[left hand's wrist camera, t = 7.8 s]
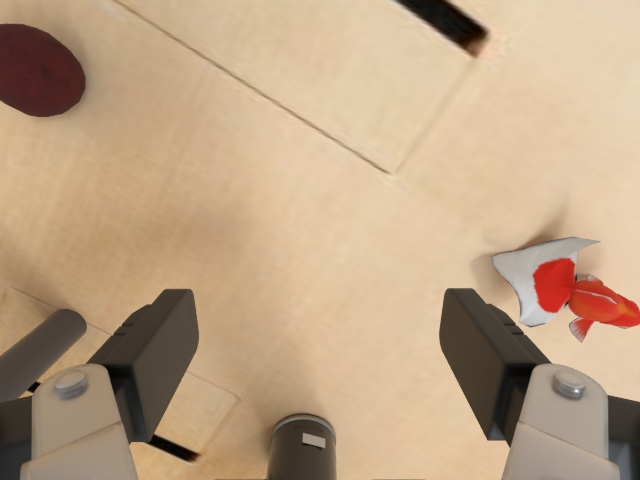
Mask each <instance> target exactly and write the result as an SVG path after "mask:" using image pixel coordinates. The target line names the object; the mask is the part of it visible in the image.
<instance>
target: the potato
mask: <svg viewBox="0 0 640 480" xmlns="http://www.w3.org/2000/svg"><path fill="white" fill-rule="evenodd" d="M84 90H85V75H84V73H83V70H82V67H81V65H80V63H79V62H78V60H77V59H76V58H75V56H74V55H73V54H72V53H71V51H70V50H69V49H68V48H66V47H65V46H64V45H63V44H61V43H60V42H59V41H58V40H56V39H55V38H54V37H53V36H51V35H50V34H49V33H46V32H44V31H42V30H39V29H37V28H34V27H30V26H27V25H23V24H0V100H1V101H2V102H4V103H5V104H7V105H9V106H11V107H13V108H15V109H17V110H19V111H21V112H23V113H25V114H27V115H31V116H37V117H50V116H54V115H59V114H63V113H64V112H66V111H68V110H69V109H70V108H72V107H73V106H74V105H75V104H77V103H78V102H79V100H80V98H81V96H82V94H83V92H84Z"/></svg>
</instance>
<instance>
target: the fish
mask: <svg viewBox="0 0 640 480" xmlns="http://www.w3.org/2000/svg"><path fill="white" fill-rule="evenodd" d="M598 242H600V241H595V240H589V239H583V238H577V237H569V238H564V239H558V240H552V241H546V242H543V243H540V244H536V245H533V246H530V247H527V248H524V249H520V250H517V251H512V252H505V253H500V254H497V255H494V256H493V257H492V265H493V266H494V267H495V269H496V270H497V271H498V272H499V273H500V274H501V275H502V276H503V277H504V279H505V280H506V281H507V282H508V283H509V284H510V285H511V286H512V287H513V288H514V290H515V292H516V294H517V296H518V299H519V304H520V320H519V323H522V324H524V325H526V326H529V327H534V326H538V325H542V324H545V323H547V322H548V321H550V320H551V319H553V318H554V317H555V316H556V315H557V314H558V313H559V312H560V311H561V310H562V309H563V308H564V307H565V306H566V305H567V304H568V306H569V308H570V309H571V311H572V312H573V313H574V314H575V315H577V316H579V318H577V319H575V320H574V321H572V322H571V323H570V324H569V328H570V330H571V332H572V334H573V335H574V336H575V337H576V338H577V339H578V340H579V341H580V342H582V341H583V339H584V338H585V336H586V334H587V332H588V330H589V329H590V327H591V325H592V324H593V323H594V321H599V322H600V323H604V324H610V325H614V326H617V327H620V328H625V329H627V328H630V327H632V326H637V325H639V324H640V311H639V308H638V306H637V305H636V303H635V302H633V301H630V300H628V299H626V298H624V297H623V296H621V295H619V294H616V293H615V292H614V291H612V290H611V289H609V288H608V287H606V286H604V285H603V282H602V281H601V280H599V279H598V278H596V277H595V276H593V275H589V276H587V277H586V279H587V280H588V281H587V280H583V281H579V282H577V283H576V281H577V273H576V261H577V256H578V251H579V250H580V249H582V248H584V247H586V246H589V245H592V244H594V243H598Z"/></svg>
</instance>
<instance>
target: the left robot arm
mask: <svg viewBox="0 0 640 480" xmlns="http://www.w3.org/2000/svg"><path fill="white" fill-rule="evenodd" d="M439 339H440V345H441V349H442V351H443V353H444V355H445V357H446V359H447V361H448V363H449V365H450V367H451V369H452V371H453V373H454V375H455V377H456V379H457V381H458V383H459V385H460V387H461V389H462V391H463V393H464V395H465V397H466V399H467V401H468V403H469V405H470V407H471V409H472V410H473V412H474V414H475V416H476V418H477V420H478V422H479V424H480V426H481V428H482V430H483V432H484V434H485V436H486V438H487V440H506V442H507V444H508V445H509V447H510V451H509V454H508V458H507V462H506V465H505V469H504V472H503V476H502V479H501V480H640V402H637V401H633V400H628V399H623V398H619V397H614V396H609V395H607V394H606V392H605V391H604V389H603V388H602V387H601V386H600V385H599V384H598V383H597V382H596V381H595V380H593V379H592V378H591V377H589V376H587V375H586V374H584V373H582V372H580V371H578V370H575V369H573V368H570V367H567V366H563V365H559V364H552V363H551V362H550V361H549V360H548V358H547V357H546V356H545V355H544V354H543V353H542V352H541V351H540V350H539V349H538V348H537V346H536V345H535V344H534V343H533V342H532V341H531V340H530V339H529V338H528V337H527V336H526V335H524V332H523V331H522V330H521V329H520V328H519V327H518V326H516V324H515V322H514V321H513V320H512V319H511V318H510V317H509V316H508V315H507V314H506V313H505V312H503V311H502V310H500V309H498V308H497V307H495V306H493V305H492V304H486V303H485V302H484V301H483V300H482V298H481V297H480V296H479V295H478V294H477V293H476V291H475V290H474V289H472V288H448V289H447V290H446V291H445V295H444V301H443V308H442V316H441V323H440V330H439ZM198 341H199V330H198V322H197V315H196V308H195V301H194V295H193V292H192V290H191V289H165V290H164V291H163V292H162V293H161V294H160V295H159V296H158V298H157V299H156V300H155V301H154V302H153V303H152V304H151V305H145V306H144V307H142V308H140V309H139V310H137V311H135V312H134V313H132V314H131V315H130V316H129V317H128V318H127V319H126V321H125V322H124V323H123V324H122V327H119V328H118V329H117V330H116V331H115V332H114V335H113V336H111V337H110V338H109V339H108V340H107V341H106V342H105V343H104V344H103V345H102V347H101V348H100V349H99V350H98V351H97V352H96V353H95V354H94V355H93V356H92V357H91V358H90V359H89V361H88V362H87V363H86V364H81V365H77V366H73V367H70V368H67V369H65V370H62V371H60V372H58V373H56V374H54V375H53V376H51V377H49V378H48V379H47V380H45V381H44V382H43V383H42V384H41V385H40V386H39V387H38V388H37V389H36V391H35V392H34V394H33V395H32V396H28V397H24V398H19V399H15V400H10V401H5V402H1V403H0V480H139V479H138V476H137V472H136V469H135V465H134V462H133V458H132V454H131V451H130V447H129V445H130V443H131V442H150V440H151V438H152V436H153V434H154V432H155V430H156V428H157V426H158V424H159V422H160V420H161V419H162V417H163V415H164V413H165V411H166V409H167V407H168V405H169V403H170V401H171V399H172V397H173V395H174V393H175V391H176V389H177V387H178V385H179V383H180V382H181V380H182V378H183V376H184V374H185V372H186V370H187V368H188V366H189V364H190V362H191V360H192V358H193V356H194V354H195V352H196V350H197V347H198ZM335 446H336V435H335V432H334V430H333V428H332V427H331V425H330V424H329V423H328V422H326V421H325V420H323V419H321V418H319V417H316V416H313V415H305V414H301V415H294V416H290V417H287V418H285V419H283V420H282V421H280V422H279V423H278V424H277V425H276V427H275V428H274V430H273V433H272V438H271V450H270V457H269V463H268V470H267V477H266V480H337V475H336V449H335Z"/></svg>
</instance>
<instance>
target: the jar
mask: <svg viewBox="0 0 640 480" xmlns="http://www.w3.org/2000/svg"><path fill="white" fill-rule="evenodd" d="M85 332H86V323H85V321H84V319H83V318H82V317H81V316H80V315H79V314H78V313H76V312H74V311H71V310H59V311H57V312H55V313H54V314H53V315H52V316H50V317H49V318H48V319H47V320H45V321H44V322H43V323H42V324H40V325H39V326H38V327H36V328H35V329H34V330H33V331H31V332H30V333H29V334H28V335H26V336H25V337H24V338H23V339H21V340H20V341H19V342H18V343H16V344H15V345H14V346H12V347H11V348H10V349H9V350H7V351H6V352H5V353H4V354H2V355H1V356H0V403H1V402H5V401H10V400H15V399H18V398H19V397H20V396H21V395H22V394H23V393H24V392H25V391H26V390H27V389H28V388H29V387H30V386H31V385H32V384H33V383H34V382H35V381H36V380H37V379H38V378H40V377H41V376H42V375H43V374H44V373H45V372H46V371H47V370H48V369H49V368H50V367H51V366H52V365H53V364H54V363H55V362H56V361H57V360H58V359H59V358H60V357H61V356H62V355H63V354H64V353H65V352H66V351H67V350H68V349H69V348H70V347H71V346H72V345H73V344H74V343H75V342H76V341H77V340H78V339H79V338H80V337H81V336H82V335H84V333H85Z"/></svg>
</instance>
